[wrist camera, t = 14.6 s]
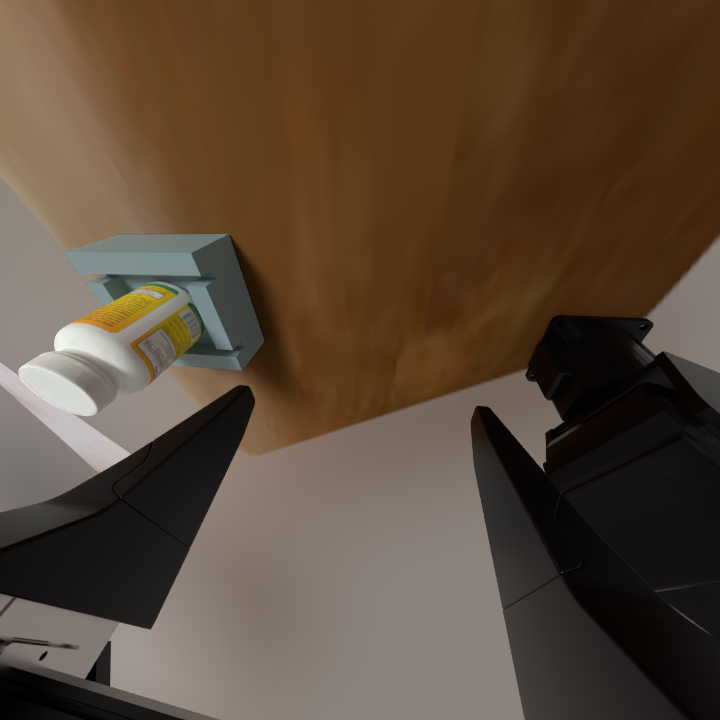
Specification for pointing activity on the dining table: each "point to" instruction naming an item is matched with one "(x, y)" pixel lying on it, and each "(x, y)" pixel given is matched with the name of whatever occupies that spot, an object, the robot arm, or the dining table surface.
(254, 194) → the dining table surface
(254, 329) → the teal tray
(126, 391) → the supplement bottle
